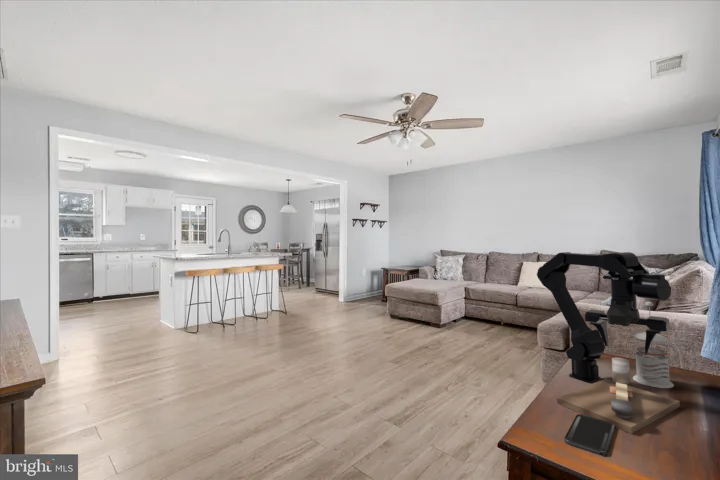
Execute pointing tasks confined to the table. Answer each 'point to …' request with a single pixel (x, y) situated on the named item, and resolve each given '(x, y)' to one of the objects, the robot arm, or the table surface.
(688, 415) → the table surface
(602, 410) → the board
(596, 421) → the phone
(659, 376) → the french press
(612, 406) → the grey-ended beige bar
